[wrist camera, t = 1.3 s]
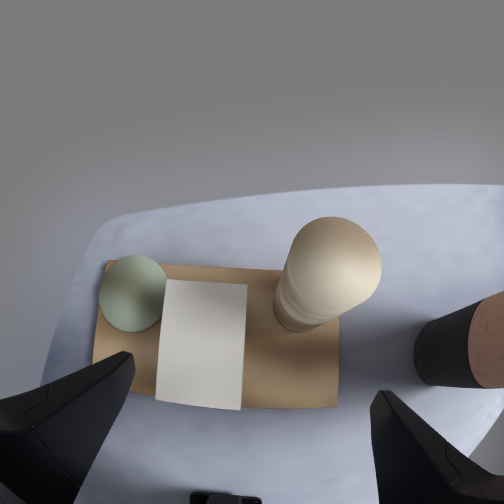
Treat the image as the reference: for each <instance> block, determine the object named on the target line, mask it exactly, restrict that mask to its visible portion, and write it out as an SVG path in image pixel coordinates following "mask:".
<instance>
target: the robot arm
mask: <svg viewBox="0 0 504 504" xmlns="http://www.w3.org/2000/svg"><path fill="white" fill-rule="evenodd" d="M135 373H136V367H135V361H134V355H133V354H132V353H130V352H127V351H120V352H118V353H116V354H114V355H112V356H109V357H107V358H105V359H103V360H101V361H98V362H96V363H94V364H92V365H90V366H87V367H85V368H83V369H81V370H78V371H76V372H74V373H72V374H69V375H67V376H65V377H63V378H60V379H58V380H56V381H53V382H51V383H50V384H46V385H44V386H41V387H39V388H36V389H34V390H31V391H28V392H25V393H22V394H19V395H15V396H12V397H8V398H4V399H1V400H0V504H73V503H74V500H75V498H76V496H77V494H78V492H79V490H80V488H81V486H82V484H83V482H84V479H85V477H86V475H87V473H88V471H89V469H90V467H91V465H92V464H93V462H94V460H95V458H96V456H97V454H98V452H99V450H100V448H101V446H102V444H103V442H104V440H105V438H106V436H107V435H108V433H109V431H110V429H111V427H112V425H113V423H114V421H115V420H116V418H117V416H118V414H119V412H120V410H121V408H122V406H123V404H124V402H125V399H126V396H127V394H128V391H129V389H130V386H131V384H132V381H133V379H134V377H135ZM370 419H371V440H372V449H373V456H374V463H375V470H376V478H377V486H378V496H379V504H504V476H499V475H494V474H491V473H489V472H488V471H486V470H485V469H483V468H481V467H480V466H479V465H477V464H476V463H474V462H473V461H471V460H470V459H469V458H467V457H466V456H465V455H463V454H462V453H461V452H460V451H458V450H457V449H456V448H455V447H454V446H452V445H451V444H450V443H449V442H447V441H446V439H444V438H443V437H442V436H441V435H440V434H439V433H438V432H436V431H435V430H434V429H433V428H432V427H431V426H430V425H429V424H427V423H426V422H425V421H424V420H423V419H422V418H421V417H420V416H418V415H417V414H416V413H415V412H414V411H413V410H412V409H411V408H410V407H408V406H407V405H406V404H405V403H404V402H403V401H402V400H401V399H399V398H398V397H397V396H396V395H395V394H394V393H393V392H392V391H390V390H380V391H378V393H377V395H376V396H375V398H374V400H373V402H372V404H371V406H370ZM194 496H197V497H198V498H195V497H194ZM255 501H258V503H254V502H255ZM190 504H262V501H261V499H260V498H257V497H240V496H236V495H224V494H214V493H212V494H206V493H199V492H193V493H191V495H190Z"/></svg>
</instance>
